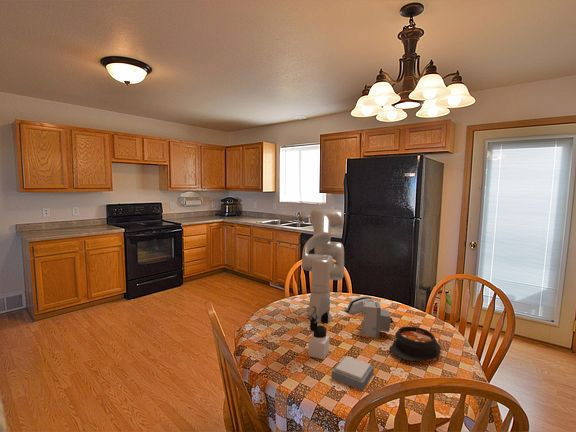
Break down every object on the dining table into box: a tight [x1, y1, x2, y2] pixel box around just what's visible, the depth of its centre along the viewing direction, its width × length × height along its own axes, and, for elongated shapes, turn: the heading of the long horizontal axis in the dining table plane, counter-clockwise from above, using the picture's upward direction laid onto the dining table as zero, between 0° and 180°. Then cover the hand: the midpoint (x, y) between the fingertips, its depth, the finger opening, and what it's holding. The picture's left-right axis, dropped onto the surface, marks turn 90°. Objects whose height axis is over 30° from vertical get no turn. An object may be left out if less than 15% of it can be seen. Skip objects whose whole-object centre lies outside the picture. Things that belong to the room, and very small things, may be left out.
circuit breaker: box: [360, 301, 394, 339], centre depth 147 cm, size 8×14×15 cm, turn 78°
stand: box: [331, 355, 375, 391], centre depth 114 cm, size 12×12×4 cm
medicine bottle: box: [307, 324, 330, 361], centre depth 129 cm, size 7×7×12 cm
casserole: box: [388, 325, 442, 362], centre depth 132 cm, size 25×19×8 cm
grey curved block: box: [344, 295, 375, 315], centre depth 175 cm, size 17×5×10 cm, turn 115°
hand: (319, 327), depth 128 cm, fingers open, 9 cm apart
